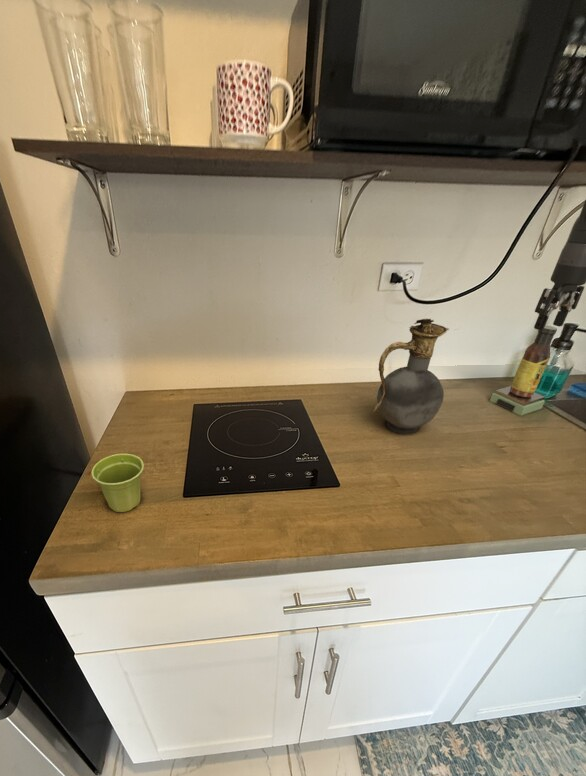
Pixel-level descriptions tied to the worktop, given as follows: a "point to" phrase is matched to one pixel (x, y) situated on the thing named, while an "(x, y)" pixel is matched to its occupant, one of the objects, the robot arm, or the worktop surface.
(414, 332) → the pitcher
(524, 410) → the scale
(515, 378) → the sauce bottle
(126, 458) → the plant pot
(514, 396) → the scale platform
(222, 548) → the worktop surface
